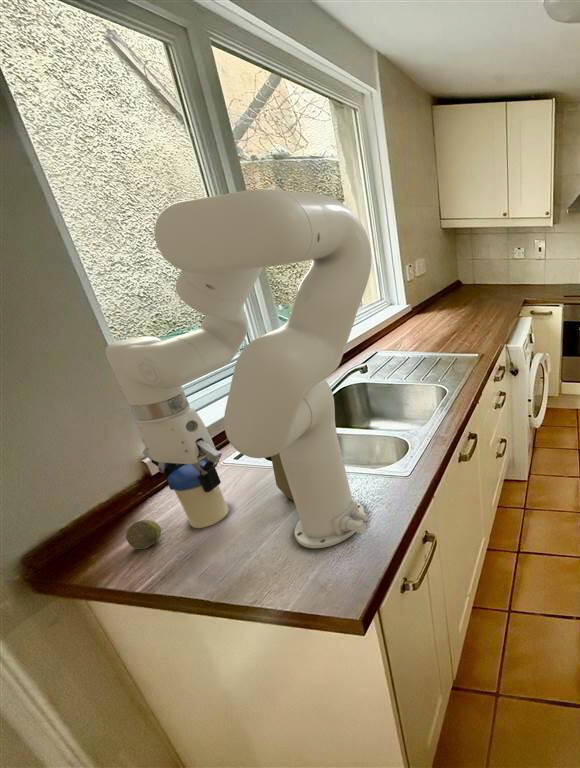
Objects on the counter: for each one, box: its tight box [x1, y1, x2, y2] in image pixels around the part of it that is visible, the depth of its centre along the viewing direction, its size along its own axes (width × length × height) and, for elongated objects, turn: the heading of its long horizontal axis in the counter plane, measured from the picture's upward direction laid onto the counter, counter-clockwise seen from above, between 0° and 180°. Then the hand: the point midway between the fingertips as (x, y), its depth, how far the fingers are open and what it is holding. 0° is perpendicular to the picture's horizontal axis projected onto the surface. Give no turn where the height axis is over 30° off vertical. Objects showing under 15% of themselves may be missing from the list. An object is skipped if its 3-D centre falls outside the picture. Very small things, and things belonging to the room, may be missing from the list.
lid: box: [167, 460, 206, 491], centre depth 76 cm, size 7×7×2 cm
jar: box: [173, 484, 229, 529], centre depth 78 cm, size 6×6×11 cm
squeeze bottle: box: [270, 453, 294, 501], centre depth 83 cm, size 8×8×18 cm
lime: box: [125, 519, 162, 550], centre depth 73 cm, size 4×5×5 cm
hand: (196, 486), depth 77 cm, fingers closed on lid, 6 cm apart
